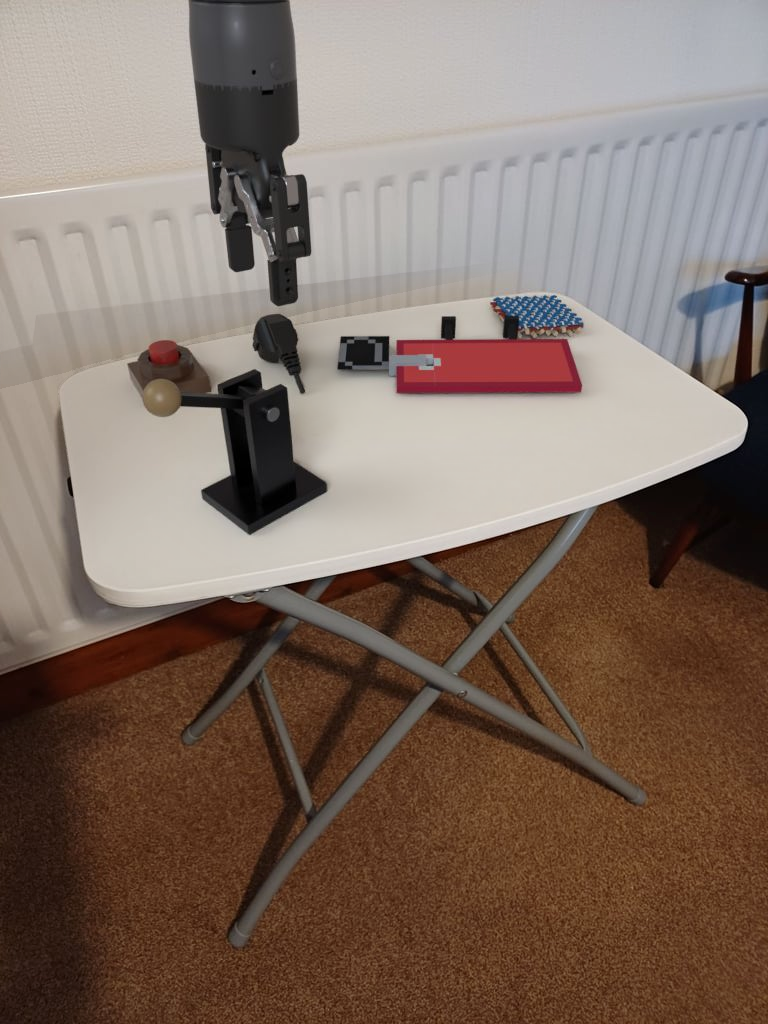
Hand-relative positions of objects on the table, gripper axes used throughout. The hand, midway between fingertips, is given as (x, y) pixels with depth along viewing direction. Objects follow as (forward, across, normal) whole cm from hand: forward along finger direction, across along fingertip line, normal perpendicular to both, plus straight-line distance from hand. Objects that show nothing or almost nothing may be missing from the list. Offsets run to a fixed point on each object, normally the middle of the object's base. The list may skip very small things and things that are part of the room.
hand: (262, 285), depth 67 cm
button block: (+22, -27, -2) cm, 35 cm away
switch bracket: (+22, 0, -2) cm, 22 cm away
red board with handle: (+21, -12, +31) cm, 40 cm away
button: (+18, -27, -2) cm, 33 cm away
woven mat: (+21, -16, +48) cm, 55 cm away
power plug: (+22, -22, +12) cm, 34 cm away
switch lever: (+11, +1, -7) cm, 13 cm away
